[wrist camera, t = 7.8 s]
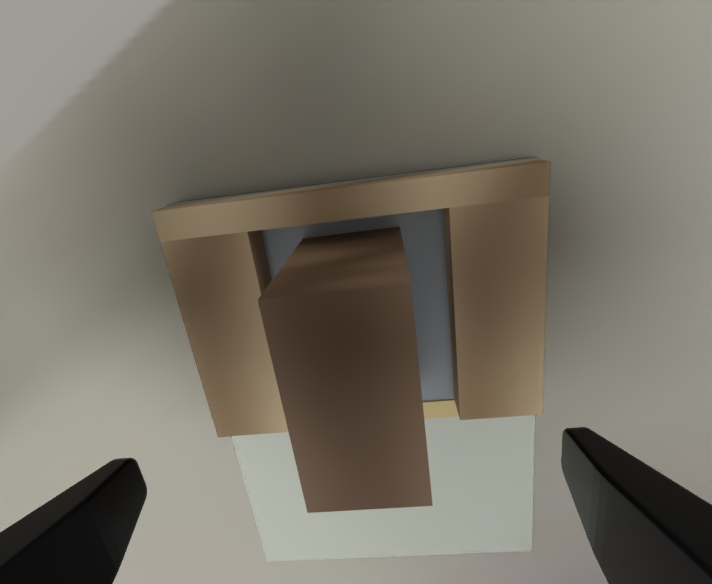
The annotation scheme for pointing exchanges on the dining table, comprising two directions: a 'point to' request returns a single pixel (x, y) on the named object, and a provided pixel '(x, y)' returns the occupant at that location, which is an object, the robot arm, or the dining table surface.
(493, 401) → the rails
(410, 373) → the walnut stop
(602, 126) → the dining table surface
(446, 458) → the door board
